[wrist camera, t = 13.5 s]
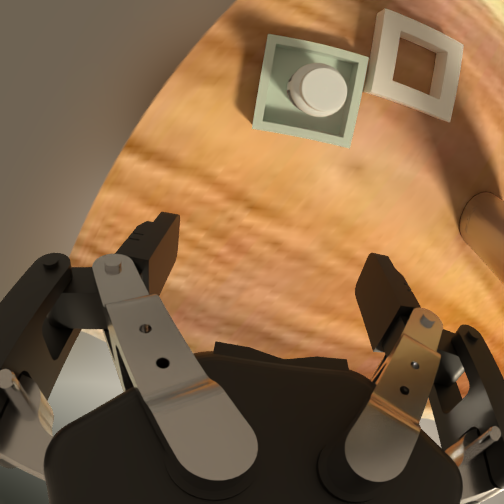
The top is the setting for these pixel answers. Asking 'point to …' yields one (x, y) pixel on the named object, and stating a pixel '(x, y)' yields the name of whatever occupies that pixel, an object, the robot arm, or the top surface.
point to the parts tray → (280, 107)
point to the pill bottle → (317, 89)
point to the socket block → (384, 60)
